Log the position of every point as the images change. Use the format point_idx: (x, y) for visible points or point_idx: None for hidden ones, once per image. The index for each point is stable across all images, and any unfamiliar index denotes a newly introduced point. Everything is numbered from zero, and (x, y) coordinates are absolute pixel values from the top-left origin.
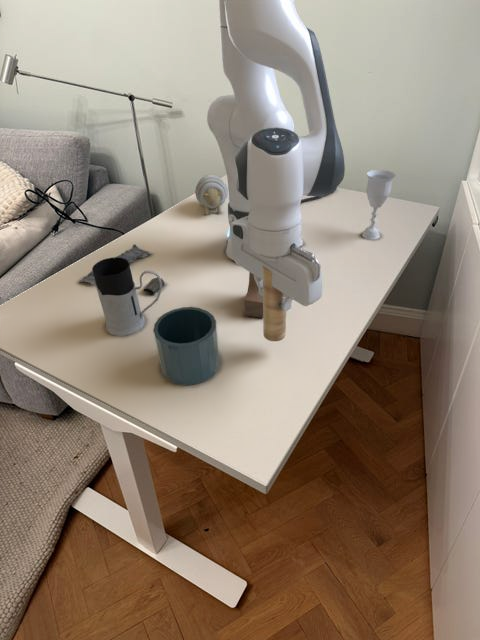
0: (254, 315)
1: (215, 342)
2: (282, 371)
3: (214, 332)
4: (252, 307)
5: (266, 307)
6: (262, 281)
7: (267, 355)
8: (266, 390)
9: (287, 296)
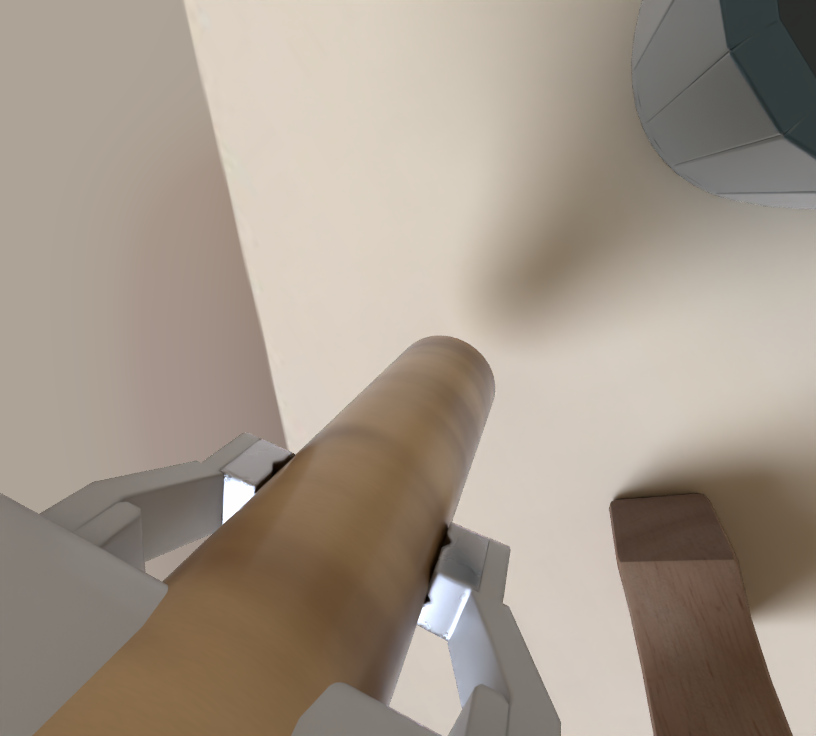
0: (651, 500)
1: (677, 48)
2: (382, 271)
3: (709, 8)
4: (671, 530)
5: (379, 429)
6: (474, 674)
7: (474, 316)
8: (372, 145)
9: (73, 503)
